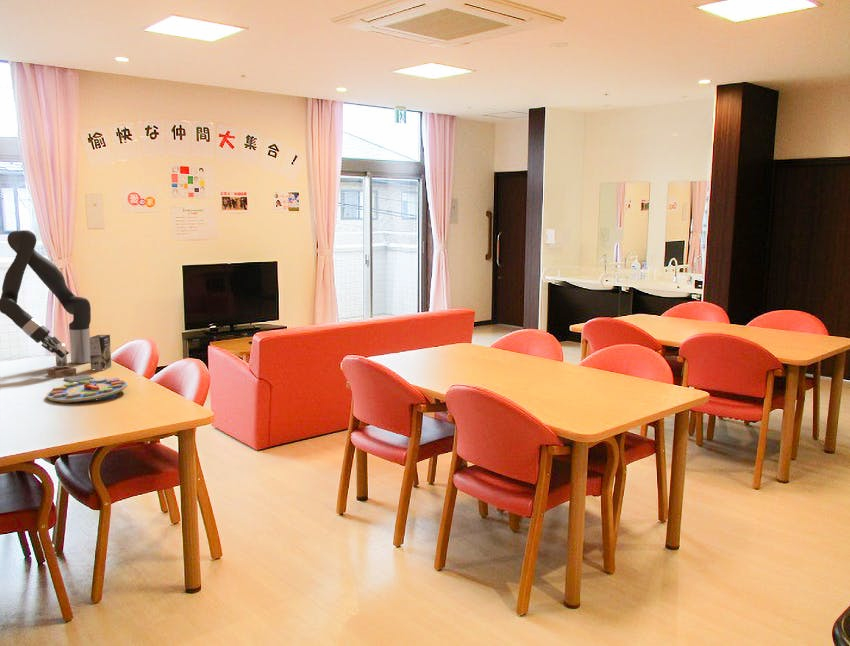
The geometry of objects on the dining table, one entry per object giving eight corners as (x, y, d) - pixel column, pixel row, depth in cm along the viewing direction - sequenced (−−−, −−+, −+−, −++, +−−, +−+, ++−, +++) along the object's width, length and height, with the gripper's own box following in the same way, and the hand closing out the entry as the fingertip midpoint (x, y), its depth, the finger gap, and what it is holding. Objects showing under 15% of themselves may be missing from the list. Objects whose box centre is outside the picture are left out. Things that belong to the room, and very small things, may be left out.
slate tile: (83, 376, 334) (83, 374, 334) (93, 379, 329) (93, 377, 329) (64, 380, 327) (64, 377, 327) (73, 383, 322) (73, 380, 322)
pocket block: (67, 371, 344) (66, 365, 344) (76, 374, 338) (76, 368, 338) (47, 375, 337) (47, 368, 337) (56, 377, 331) (56, 371, 331)
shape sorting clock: (47, 391, 308) (46, 377, 307) (124, 384, 322) (123, 371, 321) (46, 408, 281) (45, 393, 280) (131, 400, 295) (130, 386, 294)
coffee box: (103, 370, 348) (101, 337, 346) (90, 370, 348) (88, 337, 346) (112, 366, 357) (110, 334, 355) (99, 366, 357) (97, 334, 355)
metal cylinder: (64, 363, 340) (62, 342, 339) (68, 365, 338) (67, 344, 336) (54, 365, 337) (53, 344, 335) (59, 366, 334) (57, 345, 333)
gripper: (36, 327, 326) (66, 352, 330) (46, 322, 340) (75, 347, 344) (24, 339, 326) (54, 364, 330) (35, 333, 340) (64, 358, 344)
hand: (65, 355), depth 337 cm, fingers closed on metal cylinder, 4 cm apart
